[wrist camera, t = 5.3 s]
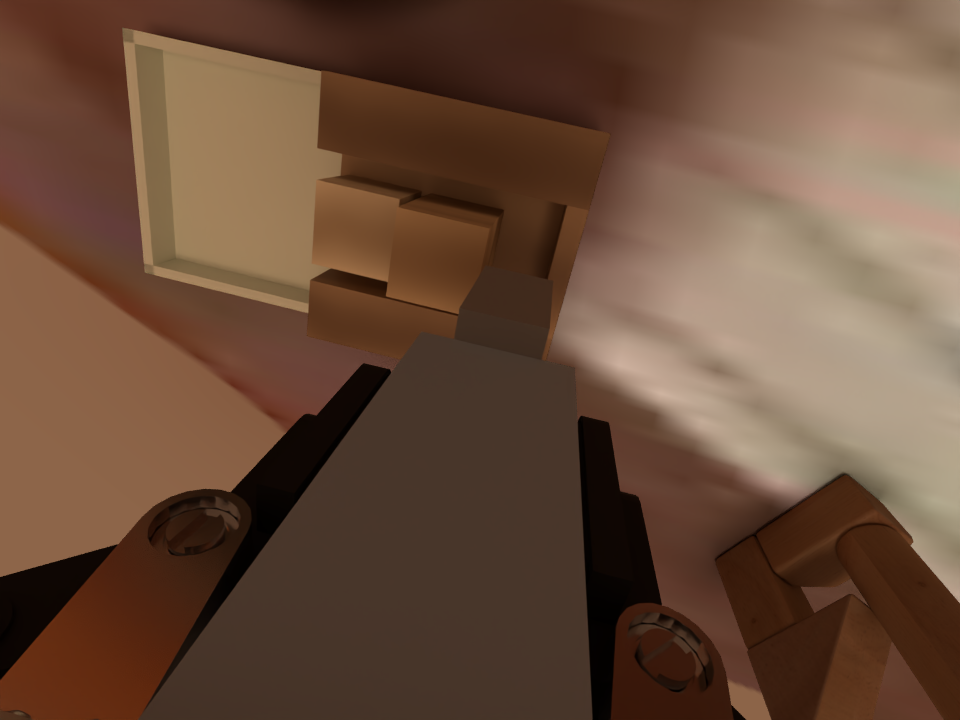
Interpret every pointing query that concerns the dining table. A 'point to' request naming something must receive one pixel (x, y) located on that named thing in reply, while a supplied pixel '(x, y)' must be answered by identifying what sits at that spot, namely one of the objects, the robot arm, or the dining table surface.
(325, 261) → the birch block
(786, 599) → the tan angled rod fixture
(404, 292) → the oak block
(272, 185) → the tray
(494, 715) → the square grey bottle
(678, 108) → the dining table surface
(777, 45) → the dining table surface
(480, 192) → the groove board
